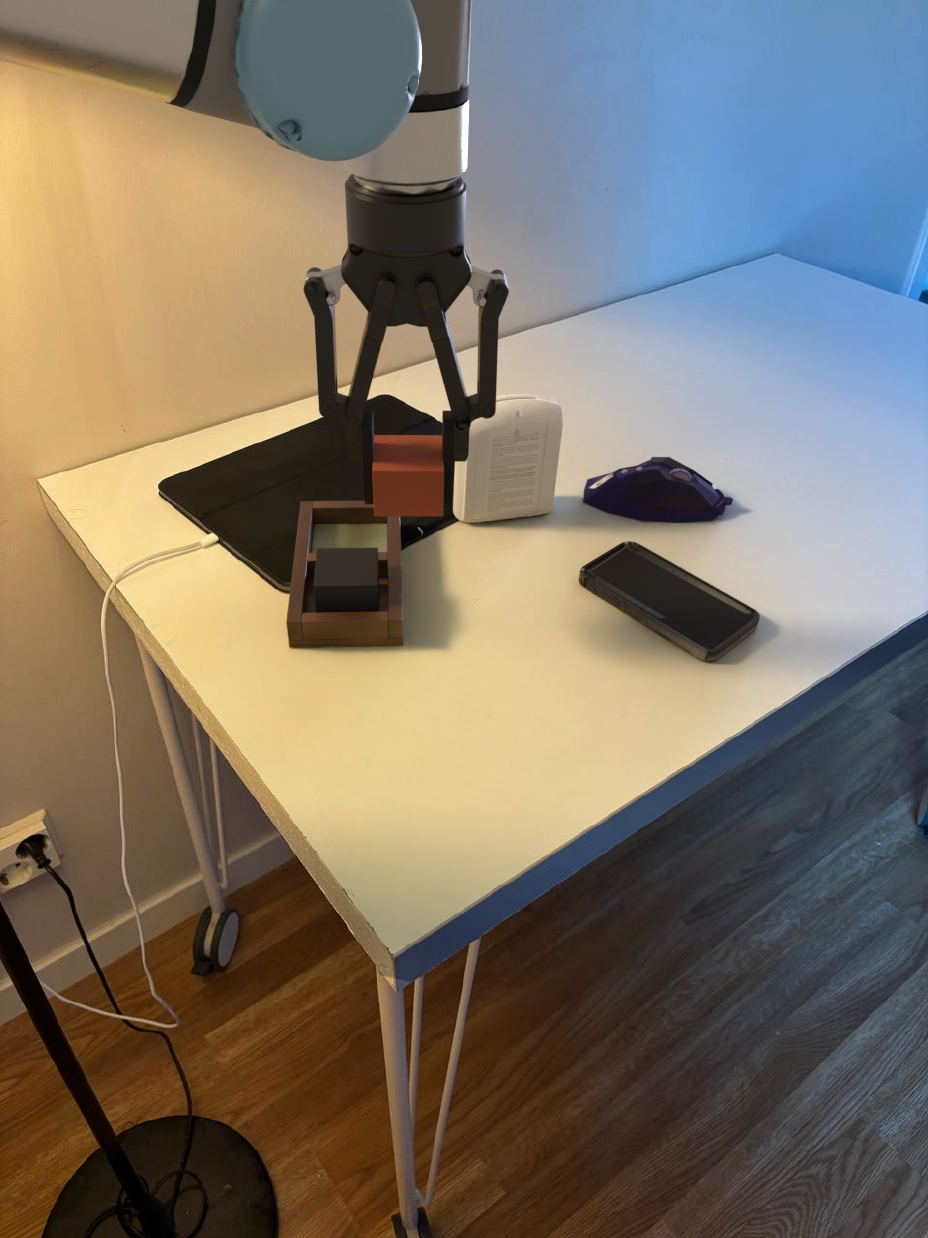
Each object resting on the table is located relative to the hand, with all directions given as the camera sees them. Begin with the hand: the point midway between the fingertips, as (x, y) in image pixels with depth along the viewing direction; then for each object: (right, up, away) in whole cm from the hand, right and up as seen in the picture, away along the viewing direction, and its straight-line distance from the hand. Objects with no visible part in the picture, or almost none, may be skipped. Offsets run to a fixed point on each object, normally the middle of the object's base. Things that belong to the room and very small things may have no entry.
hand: (408, 494), depth 74 cm
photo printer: (+8, +1, +22) cm, 23 cm away
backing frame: (-6, -6, +12) cm, 15 cm away
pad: (0, 0, 0) cm, 0 cm away
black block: (-6, -8, +9) cm, 13 cm away
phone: (+22, -8, +11) cm, 26 cm away
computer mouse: (+24, +3, +24) cm, 34 cm away
